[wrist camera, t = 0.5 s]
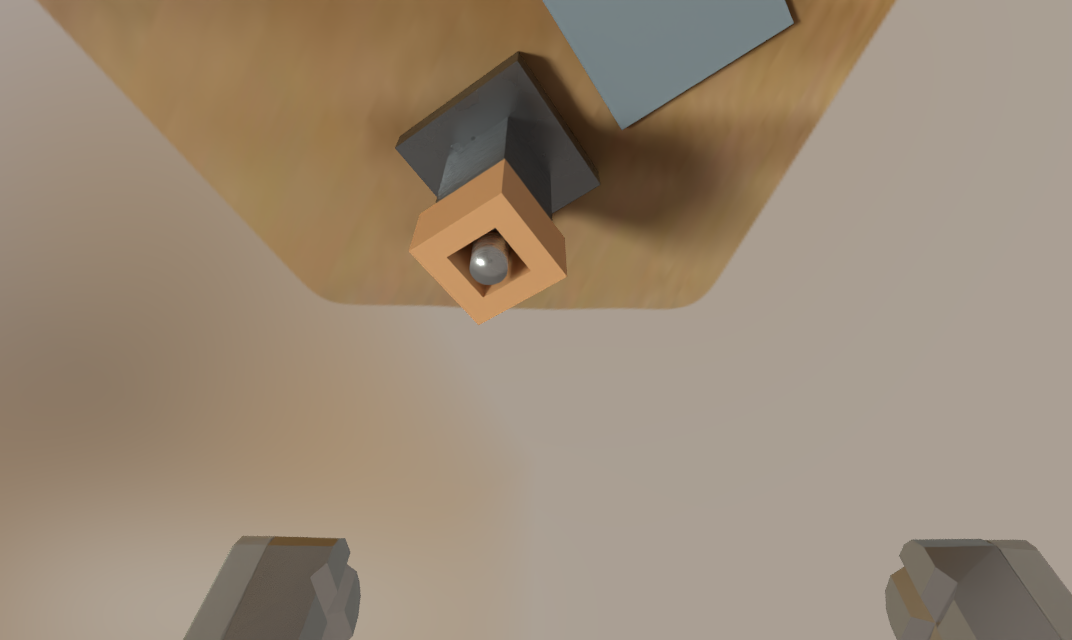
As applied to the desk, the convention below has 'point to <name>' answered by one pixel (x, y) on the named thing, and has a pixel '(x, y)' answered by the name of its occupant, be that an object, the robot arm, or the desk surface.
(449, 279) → the collar
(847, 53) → the desk surface
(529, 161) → the stand
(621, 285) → the desk surface
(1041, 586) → the robot arm
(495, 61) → the desk surface
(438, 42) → the desk surface
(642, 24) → the mat
